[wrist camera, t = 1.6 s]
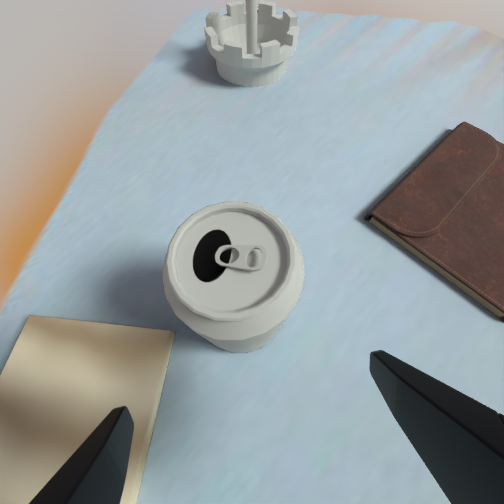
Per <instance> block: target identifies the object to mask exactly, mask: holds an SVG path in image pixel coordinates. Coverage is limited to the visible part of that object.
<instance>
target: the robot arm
mask: <svg viewBox="0 0 504 504" xmlns="http://www.w3.org/2000/svg"><path fill="white" fill-rule="evenodd" d="M370 373H371V375H372V377H373V379H374V381H375V383H376V385H377V386H378V388H379V390H380V392H381V394H382V396H383V398H384V399H385V401H386V403H387V405H388V407H389V409H390V411H391V412H392V414H393V416H394V418H395V419H396V421H397V422H398V424H399V425H400V427H401V428H402V430H403V431H404V433H405V434H406V436H407V437H408V439H409V440H410V442H411V444H412V445H413V447H414V448H415V450H416V451H417V453H418V454H419V456H420V457H421V459H422V460H423V462H424V463H425V465H426V466H427V468H428V469H429V471H430V472H431V474H432V475H433V477H434V478H435V480H436V481H437V483H438V484H439V486H440V487H441V489H442V490H443V492H444V493H445V495H446V496H447V498H448V499H449V501H450V503H451V504H504V415H502V414H500V413H499V414H498V413H497V412H496V411H494V410H493V409H491V408H489V407H487V406H485V405H483V404H481V403H480V402H478V401H476V400H474V399H472V398H470V397H468V396H467V395H465V394H463V393H461V392H459V391H457V390H455V389H454V388H452V387H450V386H448V385H446V384H444V383H442V382H440V381H439V380H437V379H435V378H433V377H431V376H429V375H427V374H426V373H424V372H422V371H420V370H418V369H416V368H414V367H413V366H411V365H409V364H407V363H405V362H403V361H401V360H400V359H398V358H396V357H394V356H392V355H390V354H388V353H386V352H385V351H382V350H378V351H373V352H371V353H370ZM133 432H134V421H133V419H132V417H131V414H130V412H129V410H128V408H127V407H126V406H121V407H117V408H114V409H112V410H111V411H110V413H109V414H108V415H107V416H106V417H105V418H104V419H103V420H102V422H101V423H100V424H99V425H98V426H97V427H96V428H95V429H94V431H93V432H92V433H91V434H90V435H89V436H88V437H87V438H86V440H85V441H84V442H83V443H82V444H81V445H80V446H79V447H78V449H77V450H76V451H75V452H74V453H73V454H72V455H71V456H70V458H69V459H68V460H67V461H66V462H65V463H64V464H63V465H62V467H61V468H60V469H59V470H58V471H57V472H56V473H55V474H54V476H53V477H52V478H51V479H50V480H49V481H48V482H47V483H46V485H45V486H44V487H43V488H42V489H41V490H40V491H39V492H38V494H37V495H36V496H35V497H34V498H33V499H32V500H31V501H30V503H29V504H120V501H121V497H122V493H123V489H124V485H125V480H126V475H127V469H128V463H129V457H130V451H131V444H132V438H133Z"/></svg>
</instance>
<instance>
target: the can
mask: <svg viewBox="0 0 504 504" xmlns="http://www.w3.org/2000/svg"><path fill="white" fill-rule="evenodd" d="M162 278H163V285H164V292H165V297H166V298H167V300H168V302H169V304H170V306H171V308H172V309H173V311H174V313H175V315H176V316H177V317H178V318H179V319H181V320H182V321H183V322H184V323H185V324H186V325H187V326H189V327H190V328H191V329H192V330H193V331H195V332H196V333H198V334H199V335H201V336H202V337H204V338H205V339H207V340H208V341H210V342H211V343H213V344H214V345H216V346H217V347H219V348H221V349H224V350H226V351H229V352H232V353H248V352H252V351H255V350H258V349H261V348H262V347H263V346H265V345H266V344H267V343H269V342H270V341H272V340H273V338H274V337H275V335H276V334H277V332H278V331H279V329H280V328H281V326H282V325H283V323H284V322H285V320H286V319H287V317H288V315H289V314H290V312H291V311H292V309H293V307H294V306H295V304H296V303H297V301H298V300H299V296H300V293H301V289H302V286H303V282H304V278H305V277H304V262H303V256H302V254H301V251H300V249H299V246H298V244H297V242H296V239H295V238H294V237H293V236H292V235H291V233H290V232H289V230H288V229H287V227H286V226H285V225H284V224H283V223H282V222H281V221H280V219H279V218H278V217H277V216H275V215H274V214H272V213H271V212H269V211H267V210H266V209H264V208H263V207H260V206H256V205H253V204H249V203H246V202H223V203H218V204H214V205H210V206H207V207H205V208H203V209H201V210H200V211H198V212H196V213H194V214H192V215H191V216H190V217H189V218H188V219H187V220H186V221H185V222H184V223H183V224H181V225H180V226H179V227H178V229H177V231H176V232H175V234H174V236H173V238H172V239H171V241H170V243H169V246H168V251H167V253H166V257H165V262H164V267H163V272H162Z"/></svg>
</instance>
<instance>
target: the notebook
mask: <svg viewBox="0 0 504 504" xmlns="http://www.w3.org/2000/svg"><path fill="white" fill-rule="evenodd" d="M371 215H372V216H373V217H372V218H371V220H370V221H369V222H370V223H372V224H373V225H374V226H376V227H377V228H378V229H380V230H381V231H382V232H384V233H385V234H387V235H388V236H389V237H391V238H392V239H393V240H395V241H396V242H397V243H399V244H400V245H402V246H403V247H404V248H406V249H407V250H408V251H410V252H411V253H412V254H414V255H415V256H416V257H418V258H419V259H421V260H422V261H423V262H425V263H426V264H427V265H429V266H430V267H431V268H433V269H434V270H435V271H437V272H438V273H440V274H441V275H442V276H444V277H445V278H446V279H448V280H449V281H450V282H452V283H453V284H454V285H456V286H457V287H459V288H460V289H461V290H463V291H464V292H465V293H467V294H468V295H469V296H471V297H472V298H474V299H475V300H476V301H478V302H479V303H480V304H482V305H483V306H484V307H486V308H487V309H488V310H490V311H491V312H493V313H494V314H495V315H497V316H498V317H499V318H503V319H502V321H503V322H504V144H502V143H500V142H498V141H496V140H495V139H494V138H493V137H492V136H491V135H489V134H488V133H486V132H485V131H483V130H481V129H479V128H477V127H475V126H473V125H471V124H469V123H467V122H462V123H461V124H459V125H458V126H457V127H456V128H455V129H454V130H453V131H451V132H450V133H449V134H448V135H447V136H446V137H445V138H444V139H443V140H442V141H441V142H440V143H439V144H438V145H437V146H436V147H435V148H434V149H433V150H432V151H431V152H430V153H429V154H428V155H427V156H426V157H425V158H424V159H423V160H422V161H421V162H420V163H419V164H418V165H417V166H416V167H415V168H414V169H413V170H412V171H411V172H410V173H409V174H408V175H407V176H406V177H404V178H403V179H402V180H401V181H400V182H399V183H398V184H397V185H396V186H395V187H394V188H393V189H392V190H391V191H390V192H389V193H388V194H387V195H386V196H385V197H384V198H383V199H382V200H381V201H380V202H379V203H378V204H377V205H376V206H375V207H374V208H373V209H372V210H371V211H370V212H369V213H368V214H367V215H366V216H365V218H364V219H365V220H367V219H368V218H369V217H370V216H371Z"/></svg>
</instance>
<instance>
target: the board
mask: <svg viewBox="0 0 504 504" xmlns="http://www.w3.org/2000/svg"><path fill="white" fill-rule="evenodd" d="M174 336H175V333H174V332H172V331H169V330H160V329H151V328H142V327H133V326H124V325H115V324H106V323H97V322H88V321H79V320H69V319H60V318H51V317H42V316H33V315H29V317H28V319H27V321H26V323H25V325H24V327H23V329H22V332H21V334H20V336H19V338H18V340H17V342H16V344H15V346H14V348H13V350H12V352H11V354H10V356H9V358H8V360H7V363H6V365H5V367H4V369H3V371H2V373H1V375H0V504H29V503H30V501H31V500H32V499H33V498H34V497H35V496H36V495H37V494H38V492H39V491H40V490H41V489H42V488H43V487H44V486H45V485H46V483H47V482H48V481H49V480H50V479H51V478H52V477H53V476H54V474H55V473H56V472H57V471H58V470H59V469H60V468H61V467H62V465H63V464H64V463H65V462H66V461H67V460H68V459H69V458H70V456H71V455H72V454H73V453H74V452H75V451H76V450H77V449H78V447H79V446H80V445H81V444H82V443H83V442H84V441H85V440H86V438H87V437H88V436H89V435H90V434H91V433H92V432H93V431H94V429H95V428H96V427H97V426H98V425H99V424H100V423H101V422H102V420H103V419H104V418H105V417H106V416H107V415H108V414H109V413H110V411H111V410H112V409H114V408H117V407H121V406H126V407H127V408H128V410H129V412H130V414H131V417H132V419H133V421H134V432H133V438H132V444H131V451H130V457H129V463H128V469H127V475H126V480H125V485H124V489H123V493H122V497H121V501H120V504H136V503H137V498H138V494H139V490H140V485H141V481H142V476H143V472H144V468H145V463H146V459H147V455H148V450H149V446H150V441H151V437H152V433H153V428H154V424H155V419H156V415H157V411H158V406H159V402H160V397H161V393H162V389H163V384H164V380H165V376H166V371H167V367H168V362H169V358H170V354H171V349H172V345H173V340H174Z"/></svg>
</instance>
